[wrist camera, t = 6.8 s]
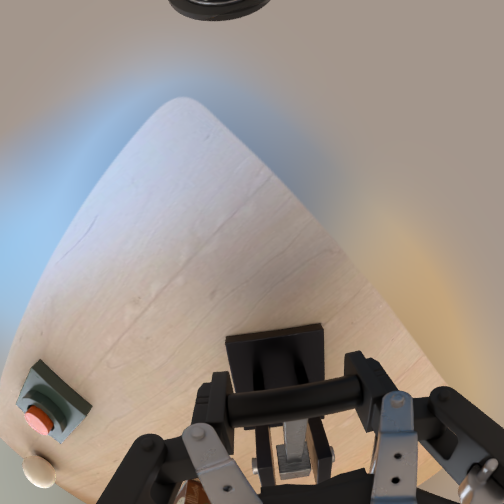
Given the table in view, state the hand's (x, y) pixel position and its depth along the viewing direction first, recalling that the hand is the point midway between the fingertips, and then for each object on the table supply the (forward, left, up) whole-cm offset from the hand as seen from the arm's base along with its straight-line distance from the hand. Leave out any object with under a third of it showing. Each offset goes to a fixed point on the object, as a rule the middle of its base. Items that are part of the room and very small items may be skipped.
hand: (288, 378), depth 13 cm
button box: (+6, -33, -13) cm, 36 cm away
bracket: (+10, -2, -13) cm, 16 cm away
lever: (+5, -1, -1) cm, 5 cm away
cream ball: (+20, -52, -13) cm, 58 cm away
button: (+6, -33, -9) cm, 35 cm away
